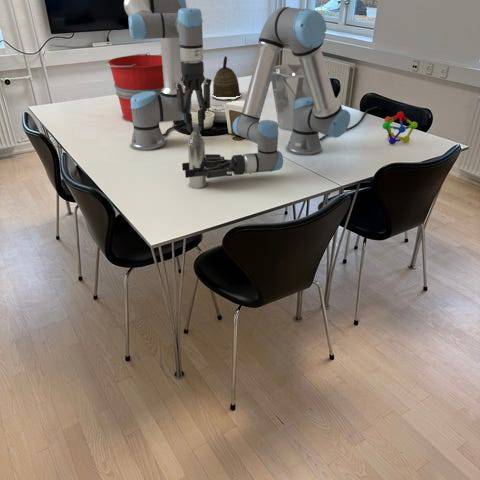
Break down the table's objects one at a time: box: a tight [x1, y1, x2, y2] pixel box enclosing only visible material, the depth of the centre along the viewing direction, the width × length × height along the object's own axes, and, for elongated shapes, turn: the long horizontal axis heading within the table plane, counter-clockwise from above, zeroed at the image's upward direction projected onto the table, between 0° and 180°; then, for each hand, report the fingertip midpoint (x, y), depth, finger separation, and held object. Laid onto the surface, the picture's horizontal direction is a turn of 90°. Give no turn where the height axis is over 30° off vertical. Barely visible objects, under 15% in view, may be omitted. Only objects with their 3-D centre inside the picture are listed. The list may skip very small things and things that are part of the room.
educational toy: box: [382, 110, 418, 145], centre depth 207 cm, size 16×13×15 cm
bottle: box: [187, 131, 207, 189], centre depth 164 cm, size 6×6×22 cm
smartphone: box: [205, 153, 221, 169], centre depth 189 cm, size 7×1×15 cm
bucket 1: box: [105, 52, 164, 123], centre depth 239 cm, size 35×35×30 cm
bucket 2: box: [270, 63, 330, 131], centre depth 226 cm, size 30×30×28 cm
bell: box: [212, 56, 242, 97], centre depth 278 cm, size 19×26×20 cm
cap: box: [192, 123, 203, 132], centre depth 158 cm, size 4×4×2 cm
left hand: (195, 130), depth 159 cm, fingers closed on cap, 4 cm apart
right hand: (184, 170), depth 165 cm, fingers closed on bottle, 6 cm apart
